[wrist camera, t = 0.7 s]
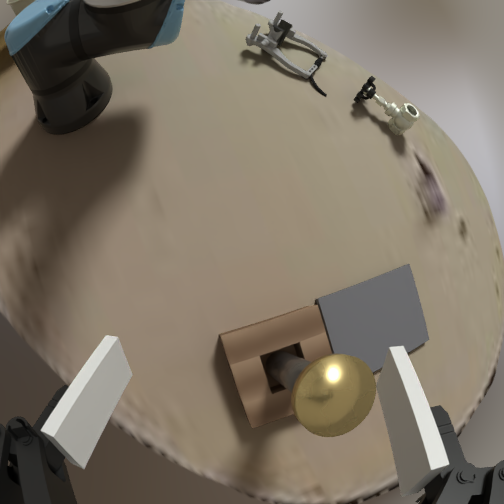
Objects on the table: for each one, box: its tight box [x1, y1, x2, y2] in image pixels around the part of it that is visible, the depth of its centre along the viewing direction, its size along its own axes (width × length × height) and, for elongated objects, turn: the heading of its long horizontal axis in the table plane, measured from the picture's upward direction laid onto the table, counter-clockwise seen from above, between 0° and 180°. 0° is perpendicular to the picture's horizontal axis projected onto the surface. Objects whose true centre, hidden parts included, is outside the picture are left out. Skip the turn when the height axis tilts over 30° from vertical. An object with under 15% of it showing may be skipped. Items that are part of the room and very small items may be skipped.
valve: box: [354, 76, 419, 135], centre depth 46 cm, size 7×7×12 cm
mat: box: [315, 264, 429, 373], centre depth 38 cm, size 13×17×1 cm
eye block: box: [219, 305, 332, 428], centre depth 34 cm, size 12×12×4 cm
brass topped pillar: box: [266, 351, 376, 437], centre depth 26 cm, size 6×6×17 cm
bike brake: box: [246, 11, 327, 96], centre depth 47 cm, size 14×7×20 cm
